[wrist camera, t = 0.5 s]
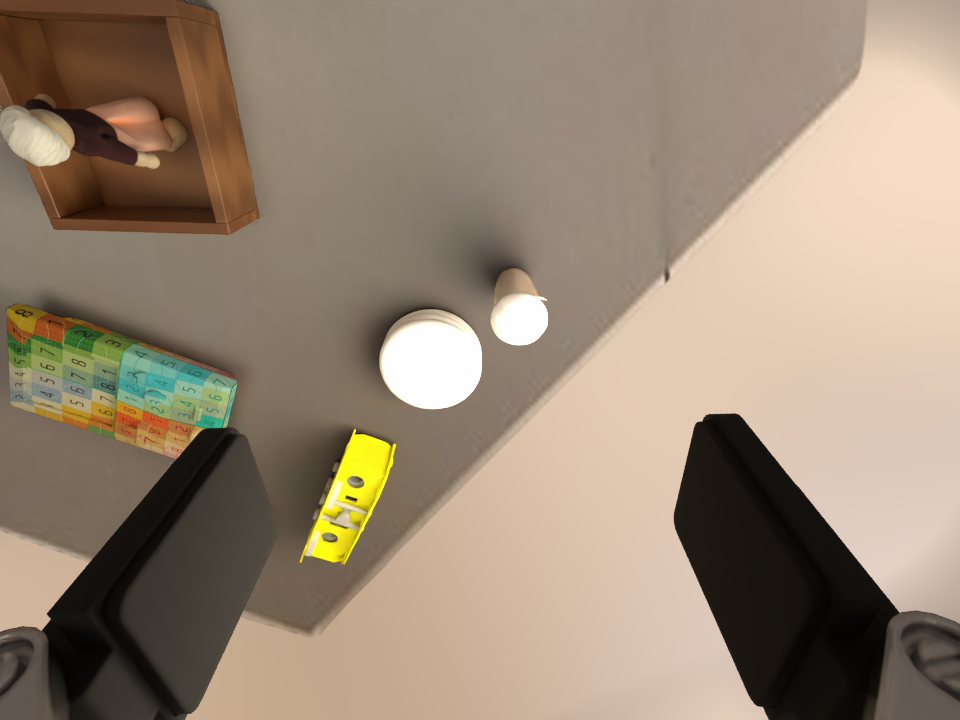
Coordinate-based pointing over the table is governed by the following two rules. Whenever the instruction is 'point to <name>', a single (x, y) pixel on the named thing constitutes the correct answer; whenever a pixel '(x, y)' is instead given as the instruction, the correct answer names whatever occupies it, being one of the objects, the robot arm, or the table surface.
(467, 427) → the table surface
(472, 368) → the white short cylinder
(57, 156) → the grandmother figurine
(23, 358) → the puzzle game
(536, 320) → the milkshake
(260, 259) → the table surface
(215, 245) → the table surface
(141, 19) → the crate
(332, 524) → the yellow toy chassis
